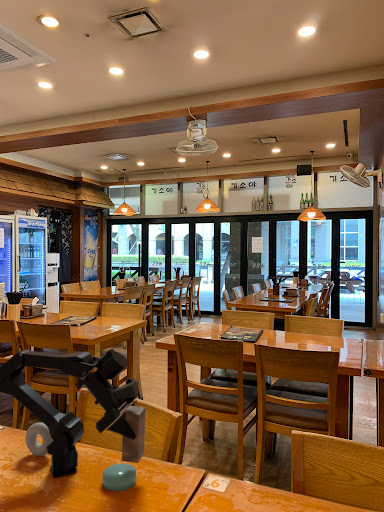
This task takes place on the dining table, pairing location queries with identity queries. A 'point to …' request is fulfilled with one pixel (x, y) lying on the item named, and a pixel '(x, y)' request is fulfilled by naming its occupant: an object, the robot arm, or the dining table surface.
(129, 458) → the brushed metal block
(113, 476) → the teal base
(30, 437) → the donut
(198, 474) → the dining table surface
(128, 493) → the dining table surface
